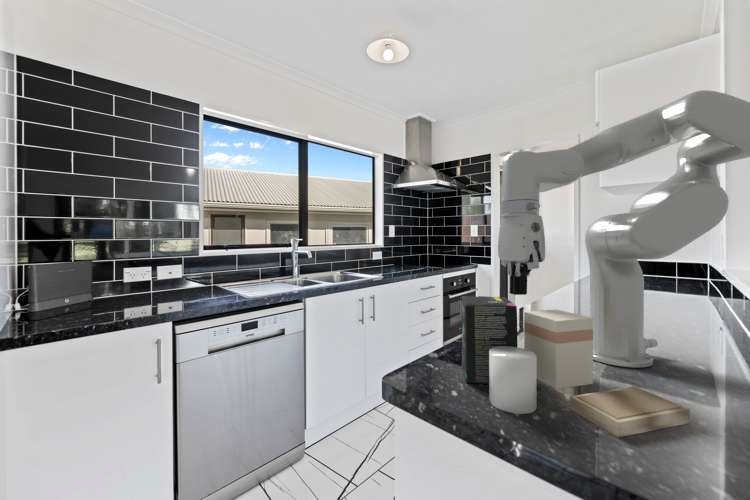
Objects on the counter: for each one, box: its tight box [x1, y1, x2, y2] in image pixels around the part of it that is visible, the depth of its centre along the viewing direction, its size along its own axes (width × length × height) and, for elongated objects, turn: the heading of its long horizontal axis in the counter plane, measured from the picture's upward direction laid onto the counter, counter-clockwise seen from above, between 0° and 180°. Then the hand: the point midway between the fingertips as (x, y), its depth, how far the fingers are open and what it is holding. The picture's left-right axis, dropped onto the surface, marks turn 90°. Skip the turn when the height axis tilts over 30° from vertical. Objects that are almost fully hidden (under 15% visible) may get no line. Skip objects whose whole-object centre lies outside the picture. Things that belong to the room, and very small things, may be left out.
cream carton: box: [523, 308, 594, 390], centre depth 61 cm, size 8×8×12 cm
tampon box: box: [461, 295, 518, 385], centre depth 63 cm, size 11×9×15 cm
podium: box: [569, 385, 691, 438], centre depth 47 cm, size 13×8×2 cm, turn 104°
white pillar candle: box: [488, 346, 538, 415], centre depth 52 cm, size 7×7×8 cm
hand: (518, 293), depth 70 cm, fingers closed
